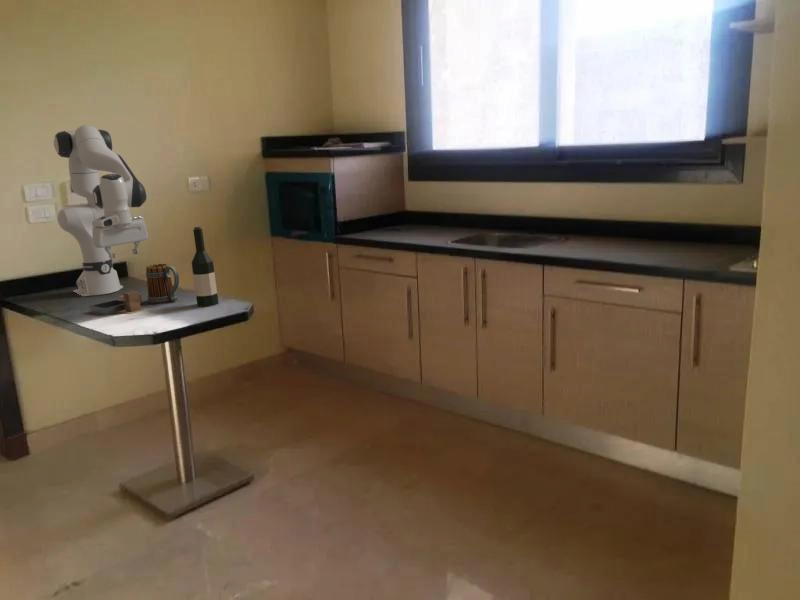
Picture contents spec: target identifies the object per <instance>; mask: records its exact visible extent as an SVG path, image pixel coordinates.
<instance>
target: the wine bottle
mask: <svg viewBox="0 0 800 600" xmlns="http://www.w3.org/2000/svg"><path fill="white" fill-rule="evenodd" d="M192 230H193V231H192V232H193V237H194V245H195V253H194V256H193V257H192V261H191V262H190V263H191V269H192V270H191V271H192V276H193V283H194V284H193V285H194V289H195V290H194V291H195V296H196V304H197V307H201V308H203V307H204V308H207V307H212V306H213V307H214V306H216V305H219V296H218V290H217V282H216V275H215V268H214V260H213V259H212V258H211V257H210V255H209V254H208V252H207V251H206V248H205V241H204V233H203V229H202V227H201V226H194V228H193V229H192Z"/></svg>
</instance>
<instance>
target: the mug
mask: <svg viewBox="0 0 800 600" xmlns="http://www.w3.org/2000/svg"><path fill="white" fill-rule="evenodd" d="M145 269H146V270H145V278H146V285H147V286H146V287H147V301H148V303H149V304H150V305H161V304H162V305H163V304H168V303H171V302H176V301H178V299H179V297H178V296H176V293H175V292H176V290H177V289H178V287H179V284H180V275H179V272H178V270H177V269H176V267H175V266H173V265H171V266H169V265H168V264H167V263H157V264H156V263H155V264H150V265H147V266H146V268H145ZM171 272H172V274H173V278H174V279H173V280H174V283H173V281H172V276H171Z"/></svg>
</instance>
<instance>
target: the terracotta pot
mask: <svg viewBox="0 0 800 600" xmlns="http://www.w3.org/2000/svg"><path fill="white" fill-rule="evenodd" d="M138 294H139V300H140V304H143V298H142V294H141V293H138ZM118 298H119V299H118V300H122V301H124V298H123V294H122V295H119V296H118Z"/></svg>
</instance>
